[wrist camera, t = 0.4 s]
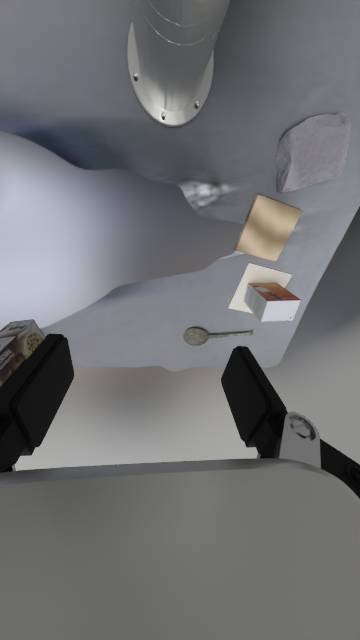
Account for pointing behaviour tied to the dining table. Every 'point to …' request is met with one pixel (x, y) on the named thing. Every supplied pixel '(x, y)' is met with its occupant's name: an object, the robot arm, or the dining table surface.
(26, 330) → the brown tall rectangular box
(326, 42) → the dining table surface
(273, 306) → the small box
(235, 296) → the cream tile
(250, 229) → the wooden board
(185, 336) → the soupspoon
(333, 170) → the stone block
